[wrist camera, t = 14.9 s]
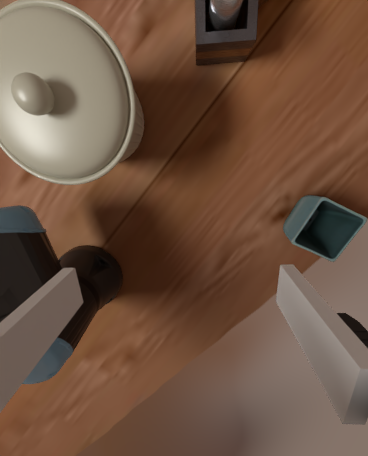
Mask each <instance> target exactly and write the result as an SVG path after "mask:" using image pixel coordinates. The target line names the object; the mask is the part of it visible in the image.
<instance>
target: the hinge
mask: <svg viewBox="0 0 368 456" xmlns="http://www.w3.org/2000/svg"><path fill="white" fill-rule="evenodd" d="M267 1H268V0H243V1H242V4H241V7H240V11H239V14H238V30H226V31H214V32H205V13H208V12H209V6H210V0H195V36H196V65H205V64H219V63H232V62H245V60H246V58H247V56H248V54H249V52H250V50H251V48H252V47H253V45H254V43H255V41H256V33H257V15H258V8H259V7H260V6H261V5H263V4H264V3H265V2H267Z"/></svg>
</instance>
